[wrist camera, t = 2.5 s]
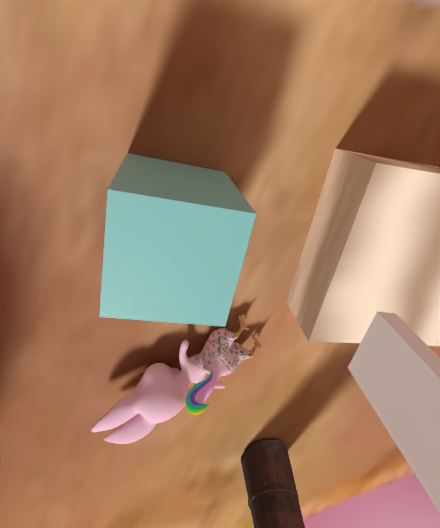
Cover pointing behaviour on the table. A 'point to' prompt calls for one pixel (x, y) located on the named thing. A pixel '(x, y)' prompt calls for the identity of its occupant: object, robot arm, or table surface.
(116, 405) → the pink animal figurine
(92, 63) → the table surface
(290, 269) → the table surface
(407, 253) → the birch base
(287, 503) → the butter churn
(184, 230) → the teal block
